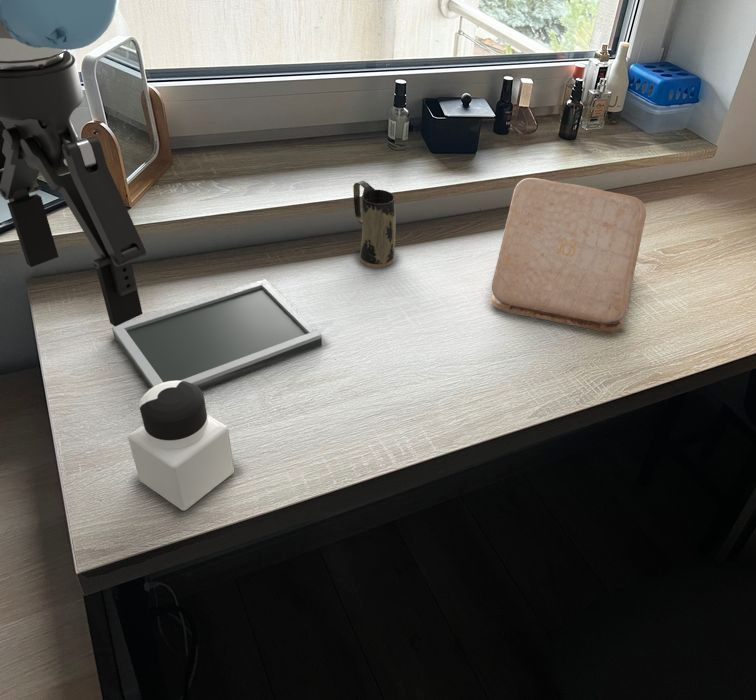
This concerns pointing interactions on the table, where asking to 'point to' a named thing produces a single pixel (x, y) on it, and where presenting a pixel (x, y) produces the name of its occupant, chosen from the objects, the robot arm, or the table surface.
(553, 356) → the table surface
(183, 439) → the medicine bottle
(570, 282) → the case
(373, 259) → the mug
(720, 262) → the table surface
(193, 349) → the chalkboard
